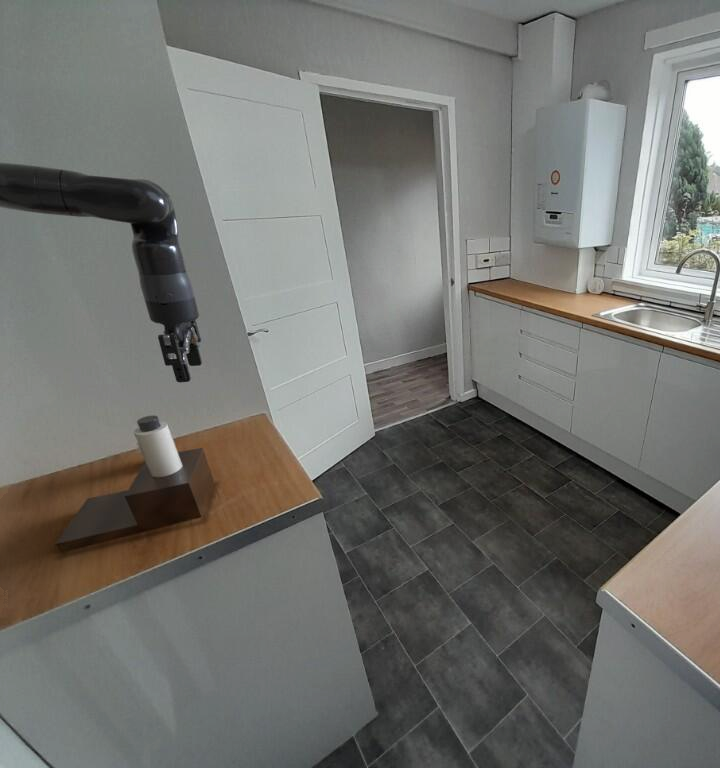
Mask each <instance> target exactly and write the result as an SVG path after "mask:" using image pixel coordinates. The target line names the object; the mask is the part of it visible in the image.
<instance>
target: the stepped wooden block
mask: <svg viewBox="0 0 720 768" xmlns="http://www.w3.org/2000/svg"><path fill="white" fill-rule="evenodd" d="M178 454H179V457H180V459H181V462H182V465H183V466H182V468H181V469H180V470H179V471H177V472H175V473H173V474H171V475H168V476H164V477H153V476H151V474H150V471H149V469H148V466H147V464H146V462H145V461H144V463H143V464H142V466H141V468H140V469H139V471H138V473H137V474H136V476H135V477H134V479H133V481H132V482H131V485H130V486H129V488H128V489H127V490H123V491H117V492H113V493H107V494H102V495H98V496H94V497H93V496H92V497H88V498H87V499H86V500H85V501H84V503H83V504H82V505H81V507H80V508H79V510H78V511H77V512H76V514H75V515H74V517H73V518H72V519H71V520H70V522H69V524H68V525H67V527H66V528H65V529H64V530H63V532H62V533H61V535H60V536H59V538H58V539H57V541H56V542H55V543H54V545H55V547H56V548H57V550H58V552H59V554H64V553H68V552H71V551H74V550H79V549H82V548H86V547H90V546H95V545H98V544H102V543H106V542H110V541H113V540H114V541H115V540H118V539H121V538H125V537H129V536H134V535H136V534H137V535H138V534H141V533H144V532H148V531H152V530H156V529H160V528H165V527H168V526H172V525H176V524H180V523H184V522H187V521H192V520H195V519H199V518H202V517H203V513H204V510H205V508H206V505H207V501H208V499H209V495H210V492H211V490H212V486H213V484H214V481H215V480H214V477H213V474H212V471H211V469H210V465H209V463H208V459H207V457H206V453H205V450H204V447H199V448H194V449H188V450H182V451H178Z"/></svg>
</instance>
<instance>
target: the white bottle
mask: <svg viewBox="0 0 720 768" xmlns="http://www.w3.org/2000/svg"><path fill="white" fill-rule="evenodd" d="M136 424H137V426H138V427H137V428H135V429H134V430H133V435H134V437H135V439H136V443H137V442H138V445H139V447H140V449H141V452H142V454H143V455H142V454H141V455H142V457H143V459H144V463H145V462H146V464H147V466H148V469H149V471H150V474H151V476H153V477H164V476H168V475H171V474H173V473H175V472H177V471H179V470H180V469H181V468H182V466H183V465H182V462H181V459H180V457H179V454H178V452H179V451H178V449H177V446H176V443H175V440H174V438H173V436H172V432H171V430H170V427H169V425H168V422H167V421H160V419H159V416H158V415H153V414H152V415H147V416H143V417H140V418H139V419H137V421H136ZM141 452H140V453H141Z"/></svg>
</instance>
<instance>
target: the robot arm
mask: <svg viewBox="0 0 720 768" xmlns="http://www.w3.org/2000/svg"><path fill="white" fill-rule="evenodd" d="M0 208H1V209H8V210H14V211H21V212H28V213H35V214H43V215H44V214H45V215H53V216H66V217H77V218H96V219H101V220H107V221H113V222H118V223H126V224H130V228H131V231H132V235H133V238H132V241H131V250H132V256H133V259H134V263H135V266H136V269H137V272H138V273H137V274H138V277H139V278H138V279H139V286H140V290H141V293H142V296H143V300H144V302H145V307H146V310H147V313H148V317H149V319H150V321H151V322H153V323H155V324H159V325H162V326H163V327H164V328H163V329H164V331H163V334H158V336H157V339H158V342H159V347H160V351H161V354H162V358H163V362H164V365H165V366H166V367H170V366H171V367H172V370H173V374H174V377H175V381H176V382H177V383H189V382H190V381H191V379H192V377H191V373H190V370H189V366H190V367H198V366H199V367H200V366H201V365H203V360H202V356H201V353H200V349H199V348H200V345H201V344H200V343H201V342H202V338H201V335H200V330H199V327H198V323H197V319H198V318H199V317H200V314H199V310H198V305H197V301H196V296H195V293H194V288H193V285H192V281H191V278H190V276H189V275H188V271H187V267H186V263H185V258H184V255H183V251H182V248H181V245H180V241H179V240H180V239H179V230H178V222H177V221H178V220H177V215H176V210H175V206H174V203H173V199H172V197H171V196H170V194H169V193H168V191H167V190H166V189H165V188H164V187H162V186H161V185H160V184H158V183H156V182H154V181H152V180H149V179H142V178H136V179H134V178H133V179H132V178H120V177H112V176H111V177H110V176H98V175H89V174H86V173H83V172H78V171H75V170H68V169H62V168H54V167H46V166H39V165H31V164H20V163H10V162H0ZM187 362H188V363H187ZM188 365H189V366H188Z"/></svg>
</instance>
